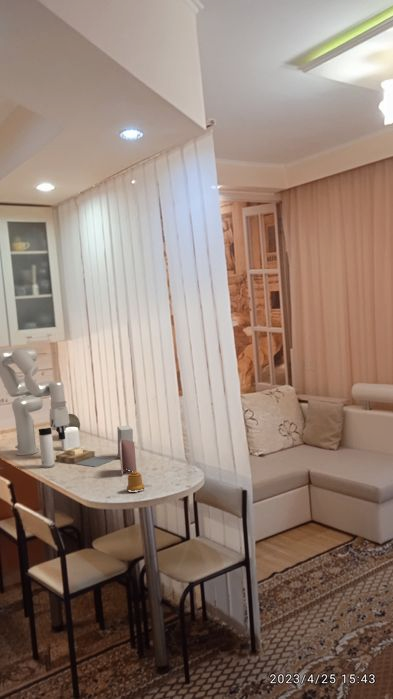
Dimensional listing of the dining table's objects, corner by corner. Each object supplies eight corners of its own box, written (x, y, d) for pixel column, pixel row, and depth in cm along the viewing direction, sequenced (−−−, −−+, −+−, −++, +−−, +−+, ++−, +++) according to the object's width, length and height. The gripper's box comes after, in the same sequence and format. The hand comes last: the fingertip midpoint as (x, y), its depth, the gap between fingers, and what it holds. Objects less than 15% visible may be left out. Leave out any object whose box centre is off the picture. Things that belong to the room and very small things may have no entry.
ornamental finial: (132, 487, 251) (147, 488, 248) (123, 492, 244) (139, 494, 241) (130, 468, 250) (146, 469, 247) (122, 474, 243) (137, 475, 240)
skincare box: (117, 456, 304) (115, 426, 303) (131, 454, 306) (128, 424, 305) (121, 460, 296) (119, 429, 295) (135, 458, 299) (132, 427, 297)
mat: (75, 464, 295) (75, 463, 295) (95, 457, 306) (95, 456, 306) (95, 467, 287) (95, 466, 287) (114, 459, 298) (114, 459, 298)
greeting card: (121, 469, 279) (119, 438, 278) (137, 468, 279) (135, 437, 278) (120, 476, 268) (117, 444, 266) (136, 475, 268) (134, 443, 267)
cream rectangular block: (64, 453, 305) (64, 449, 305) (72, 451, 310) (72, 447, 310) (75, 455, 301) (74, 451, 300) (83, 452, 305) (82, 448, 305)
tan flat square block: (56, 461, 303) (55, 455, 303) (76, 454, 315) (75, 449, 314) (74, 464, 295) (74, 458, 295) (94, 457, 306) (94, 451, 306)
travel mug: (42, 469, 290) (38, 429, 288) (42, 465, 296) (38, 427, 295) (55, 467, 292) (51, 427, 290) (54, 464, 298) (51, 425, 296)
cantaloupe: (53, 441, 352) (51, 416, 351) (67, 435, 365) (64, 411, 364) (72, 441, 346) (70, 416, 345) (86, 436, 359) (84, 412, 358)
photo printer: (78, 446, 333) (76, 425, 332) (81, 447, 330) (79, 426, 329) (61, 449, 328) (59, 428, 327) (63, 451, 324) (61, 429, 323)
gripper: (64, 402, 317) (68, 435, 318) (42, 407, 305) (46, 442, 306) (73, 402, 312) (77, 436, 313) (51, 407, 300) (55, 442, 301)
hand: (62, 439), depth 310 cm, fingers closed
